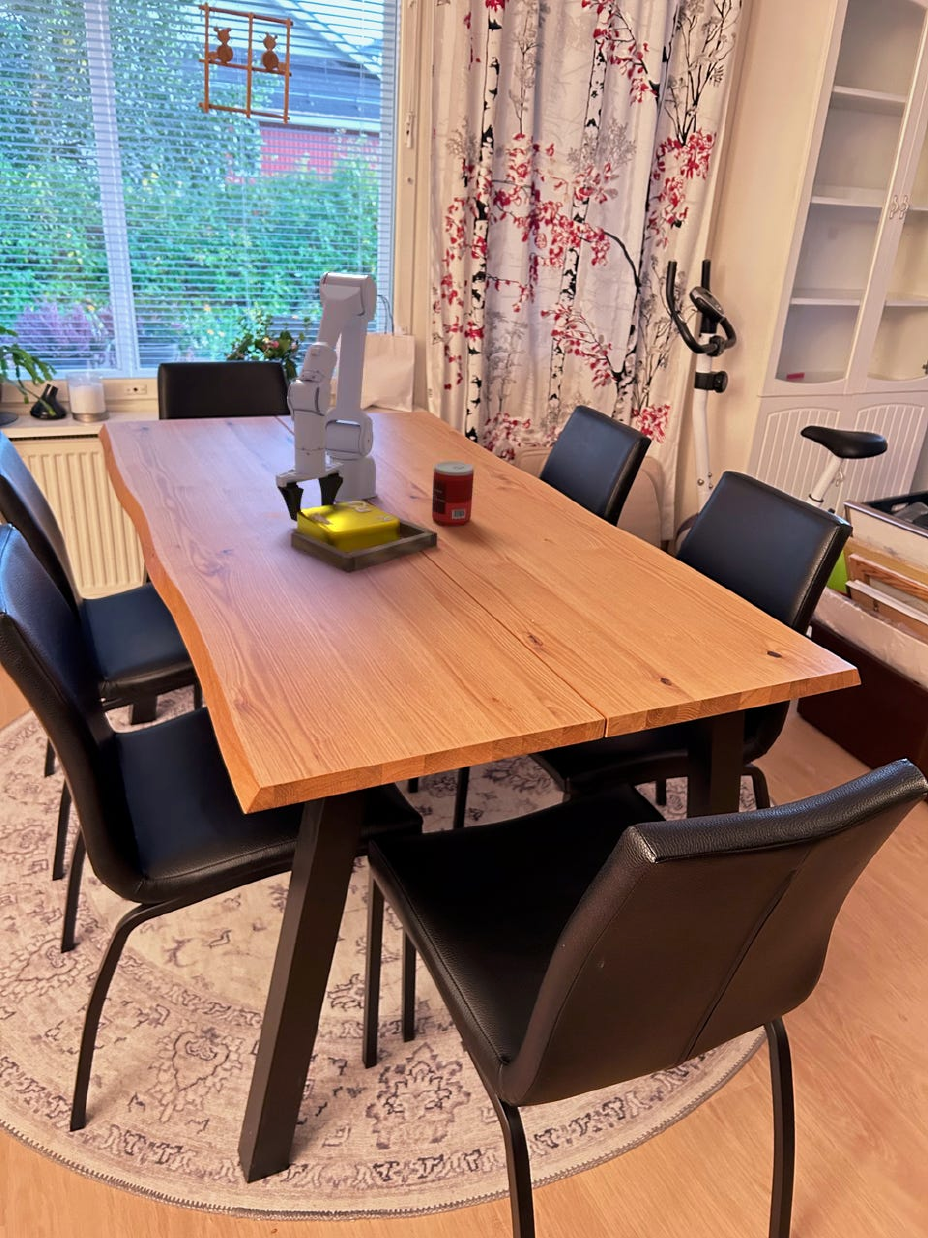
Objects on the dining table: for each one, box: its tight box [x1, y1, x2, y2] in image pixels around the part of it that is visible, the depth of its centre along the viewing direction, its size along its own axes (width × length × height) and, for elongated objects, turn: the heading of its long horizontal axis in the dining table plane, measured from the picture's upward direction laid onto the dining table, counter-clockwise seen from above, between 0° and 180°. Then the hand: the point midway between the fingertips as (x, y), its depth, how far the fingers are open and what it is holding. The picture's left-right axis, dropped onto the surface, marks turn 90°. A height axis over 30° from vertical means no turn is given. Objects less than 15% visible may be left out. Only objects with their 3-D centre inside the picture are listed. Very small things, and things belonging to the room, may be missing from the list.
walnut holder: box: [290, 515, 438, 573], centre depth 163 cm, size 21×16×2 cm
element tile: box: [296, 500, 401, 553], centre depth 167 cm, size 15×15×5 cm
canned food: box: [431, 461, 475, 527], centre depth 176 cm, size 8×8×11 cm
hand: (311, 515), depth 172 cm, fingers open, 7 cm apart
